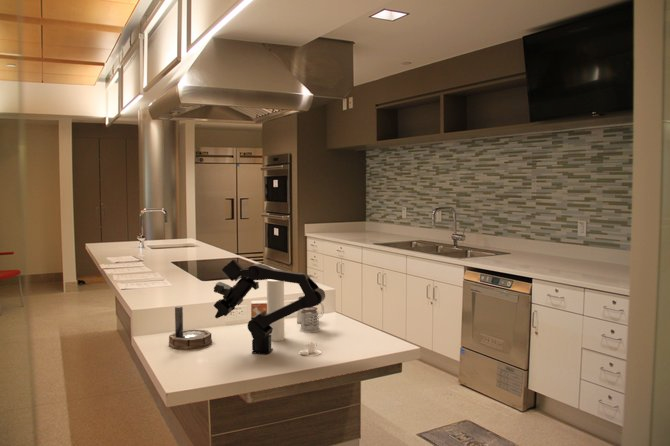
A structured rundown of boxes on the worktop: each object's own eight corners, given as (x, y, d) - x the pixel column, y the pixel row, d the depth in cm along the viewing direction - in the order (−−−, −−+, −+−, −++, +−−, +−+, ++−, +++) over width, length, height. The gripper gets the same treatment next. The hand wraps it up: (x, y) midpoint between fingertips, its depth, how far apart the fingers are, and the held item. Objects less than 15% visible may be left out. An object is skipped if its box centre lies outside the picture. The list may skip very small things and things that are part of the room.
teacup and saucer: (300, 357, 201) (300, 347, 201) (296, 351, 209) (296, 341, 209) (323, 355, 204) (323, 345, 203) (318, 349, 211) (318, 339, 211)
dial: (210, 341, 217) (209, 307, 217) (179, 346, 211) (178, 310, 210) (200, 334, 228) (200, 301, 227) (170, 338, 221) (170, 305, 221)
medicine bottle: (312, 323, 252) (311, 298, 251) (296, 323, 252) (296, 298, 251) (312, 319, 259) (312, 295, 258) (298, 319, 259) (298, 295, 258)
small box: (251, 332, 236) (250, 303, 235) (251, 329, 242) (251, 300, 241) (269, 331, 237) (269, 302, 236) (269, 328, 243) (269, 299, 242)
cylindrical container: (285, 336, 229) (285, 278, 228) (282, 340, 222) (282, 281, 221) (269, 335, 230) (268, 278, 229) (265, 340, 223) (265, 281, 222)
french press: (295, 328, 242) (295, 273, 241) (319, 325, 247) (318, 272, 246) (303, 333, 233) (303, 276, 232) (327, 330, 238) (327, 275, 237)
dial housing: (218, 338, 226) (218, 329, 226) (200, 350, 209) (199, 340, 209) (181, 336, 230) (181, 327, 229) (160, 347, 213) (160, 338, 213)
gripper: (233, 270, 217) (209, 297, 220) (216, 280, 199) (191, 310, 202) (253, 289, 217) (229, 315, 220) (238, 301, 199) (213, 330, 201)
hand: (215, 317), depth 211 cm, fingers closed
